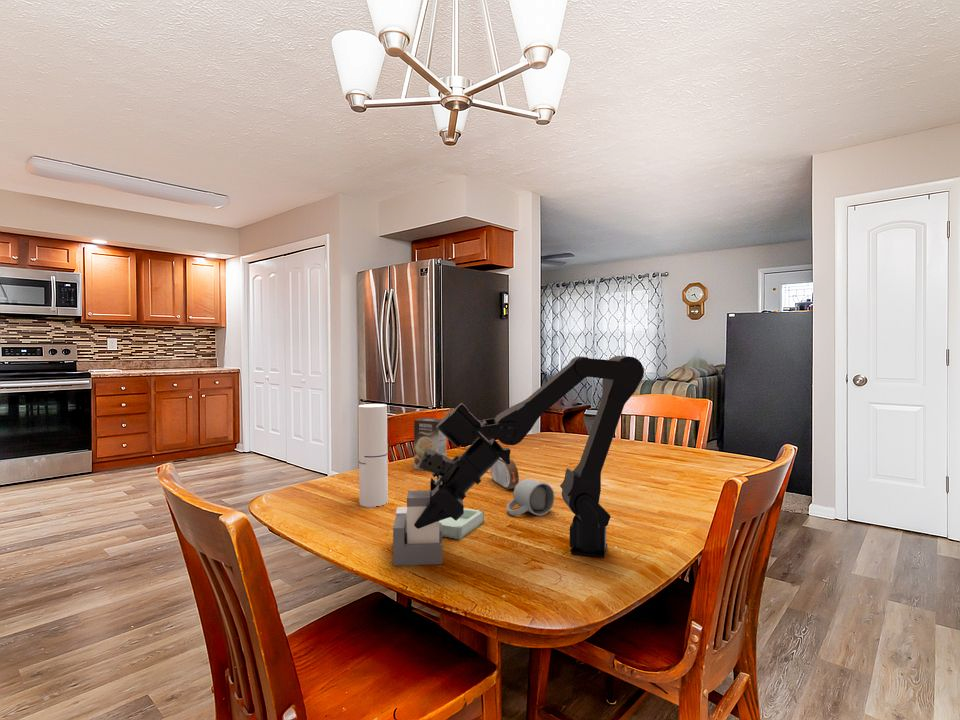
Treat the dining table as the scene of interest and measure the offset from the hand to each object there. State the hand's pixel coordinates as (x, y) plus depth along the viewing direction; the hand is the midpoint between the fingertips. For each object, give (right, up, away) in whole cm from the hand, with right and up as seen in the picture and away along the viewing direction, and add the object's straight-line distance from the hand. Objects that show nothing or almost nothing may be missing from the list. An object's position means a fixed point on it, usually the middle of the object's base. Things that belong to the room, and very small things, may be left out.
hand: (416, 522), depth 102 cm
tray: (+5, -6, +17) cm, 18 cm away
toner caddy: (+1, -7, 0) cm, 7 cm away
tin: (+19, -5, +50) cm, 54 cm away
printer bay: (0, -7, +2) cm, 7 cm away
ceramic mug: (+24, -6, +26) cm, 36 cm away
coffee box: (-4, -4, +70) cm, 70 cm away
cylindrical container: (-15, -6, +34) cm, 37 cm away
